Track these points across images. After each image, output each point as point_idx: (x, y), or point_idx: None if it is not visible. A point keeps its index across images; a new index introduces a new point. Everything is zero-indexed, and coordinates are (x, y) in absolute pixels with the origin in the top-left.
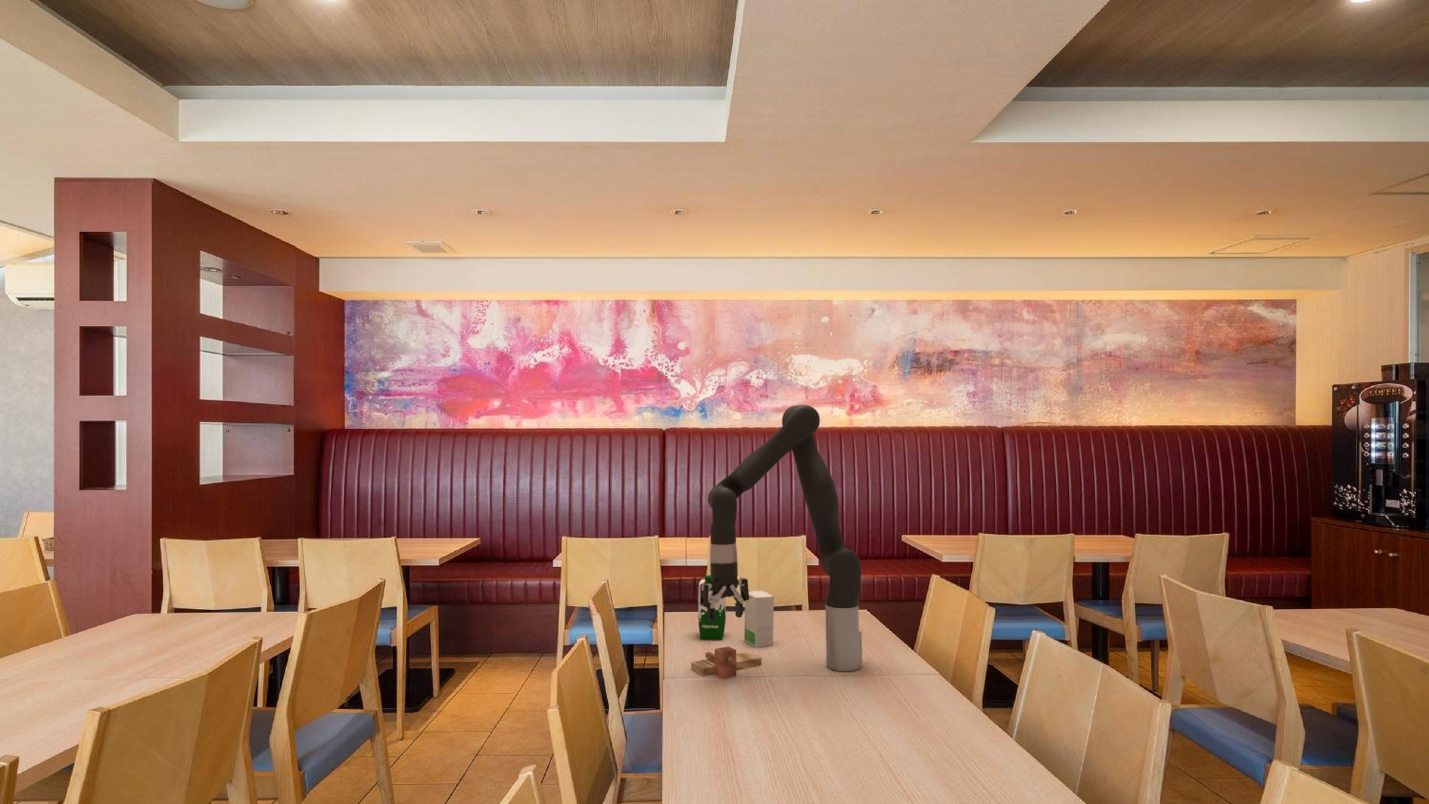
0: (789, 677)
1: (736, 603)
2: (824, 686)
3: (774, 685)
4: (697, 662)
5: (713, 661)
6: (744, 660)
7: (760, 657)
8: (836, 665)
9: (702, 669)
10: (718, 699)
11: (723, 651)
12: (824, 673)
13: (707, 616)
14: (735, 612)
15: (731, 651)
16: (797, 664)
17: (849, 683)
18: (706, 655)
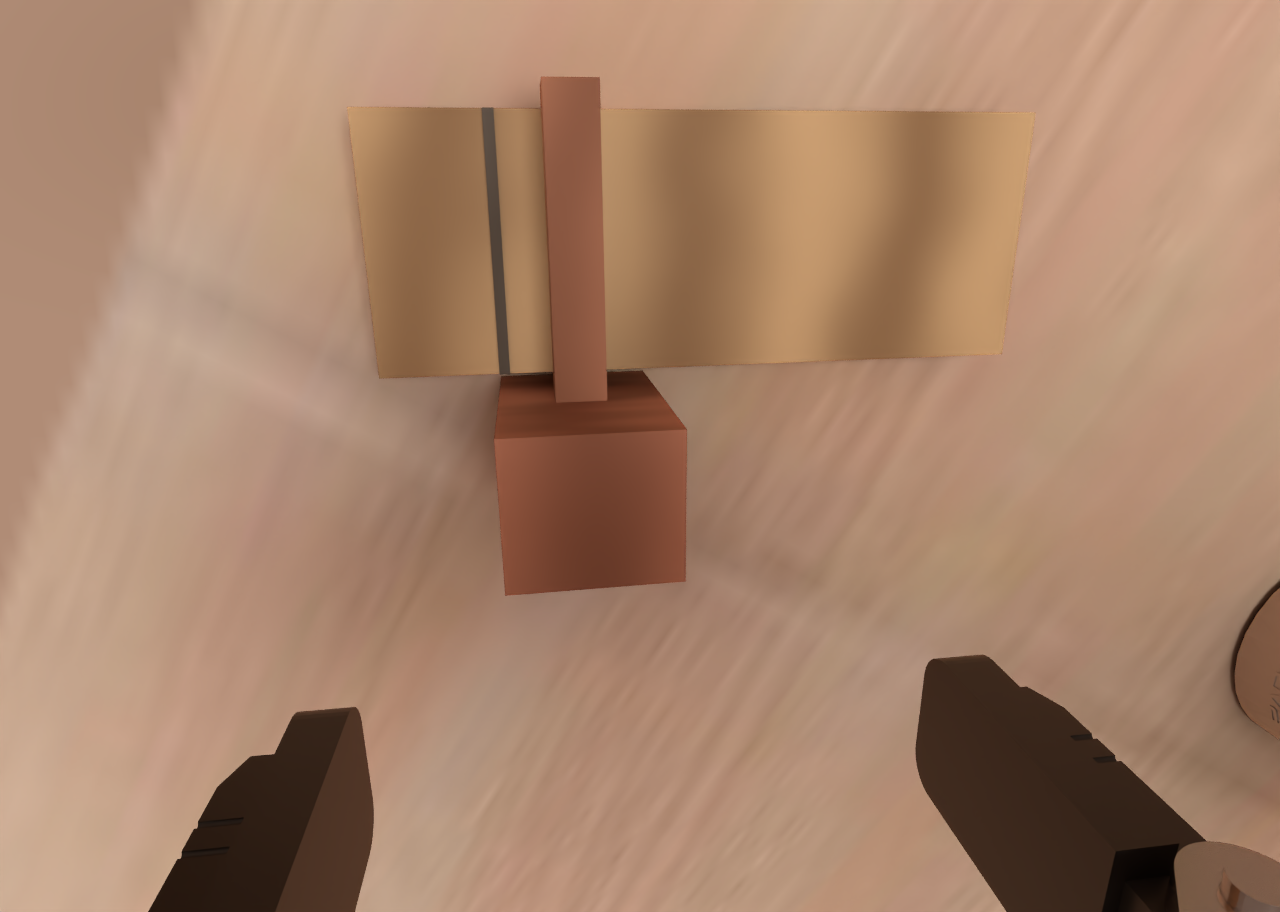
0: None
1: (1098, 899)
2: None
3: (755, 758)
4: (406, 163)
5: (548, 270)
6: (835, 349)
7: (997, 346)
8: (1264, 716)
9: (379, 361)
10: None
11: (538, 569)
12: (1148, 697)
13: (208, 817)
14: (968, 685)
15: (624, 583)
16: (1167, 470)
17: None
18: (541, 112)
